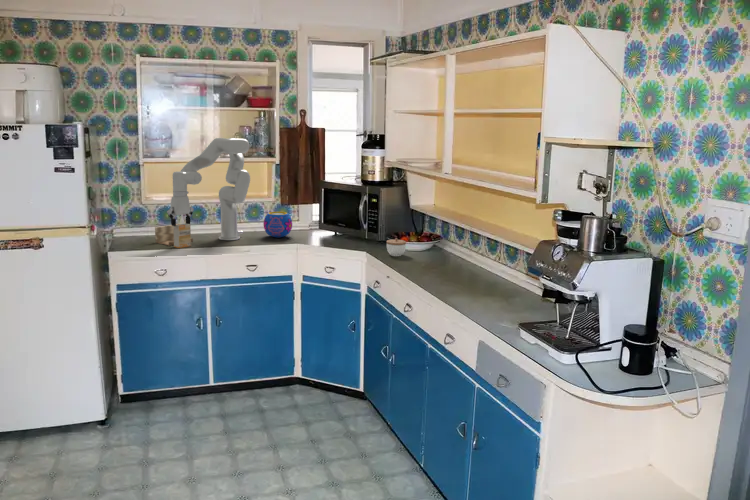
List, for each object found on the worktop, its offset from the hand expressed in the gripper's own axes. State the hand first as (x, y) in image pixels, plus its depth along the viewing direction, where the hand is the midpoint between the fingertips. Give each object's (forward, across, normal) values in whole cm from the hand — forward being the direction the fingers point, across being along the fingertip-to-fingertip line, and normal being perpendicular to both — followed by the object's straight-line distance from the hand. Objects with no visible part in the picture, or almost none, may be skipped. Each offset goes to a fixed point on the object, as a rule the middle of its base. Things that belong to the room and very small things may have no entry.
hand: (180, 224), depth 361 cm
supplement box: (+13, -1, 0) cm, 13 cm away
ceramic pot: (+12, -58, +19) cm, 62 cm away
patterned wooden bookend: (+12, -5, -13) cm, 18 cm away
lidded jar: (+12, -64, +102) cm, 121 cm away
